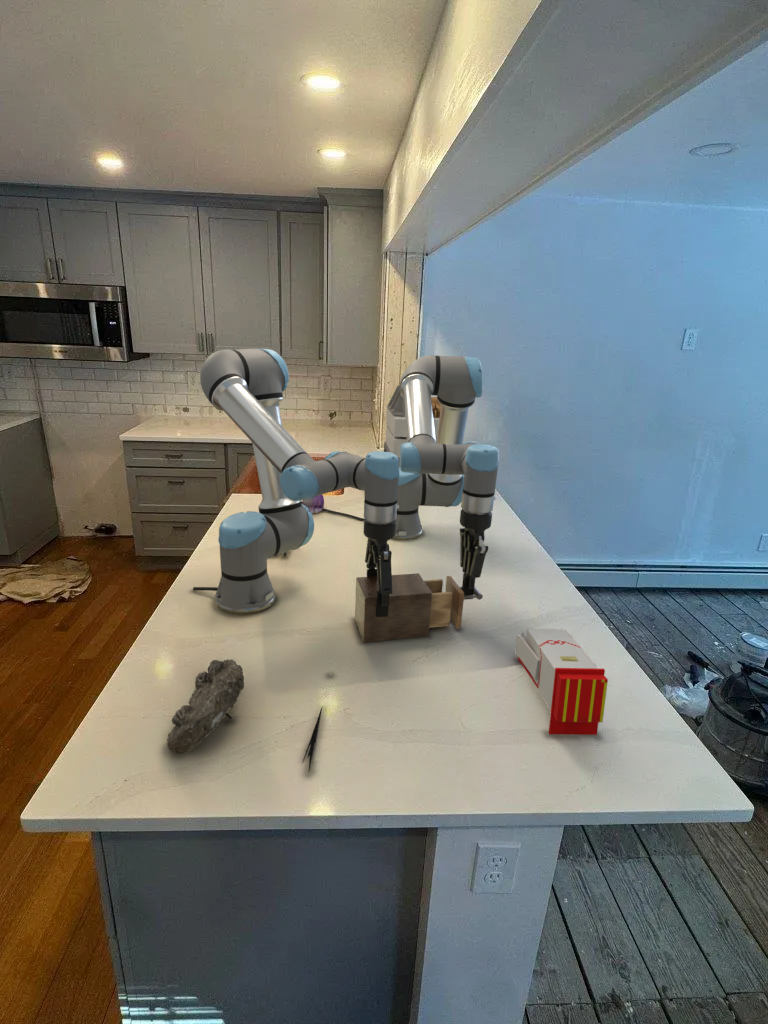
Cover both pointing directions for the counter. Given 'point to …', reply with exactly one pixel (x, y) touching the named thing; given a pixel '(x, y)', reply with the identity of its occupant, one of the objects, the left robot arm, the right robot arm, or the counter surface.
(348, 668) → the counter surface
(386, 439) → the transformer
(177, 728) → the fossil
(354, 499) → the counter surface
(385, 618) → the cabinet
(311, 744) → the feather
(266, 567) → the left robot arm
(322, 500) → the figurine
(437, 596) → the drawer
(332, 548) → the counter surface
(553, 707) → the toy
